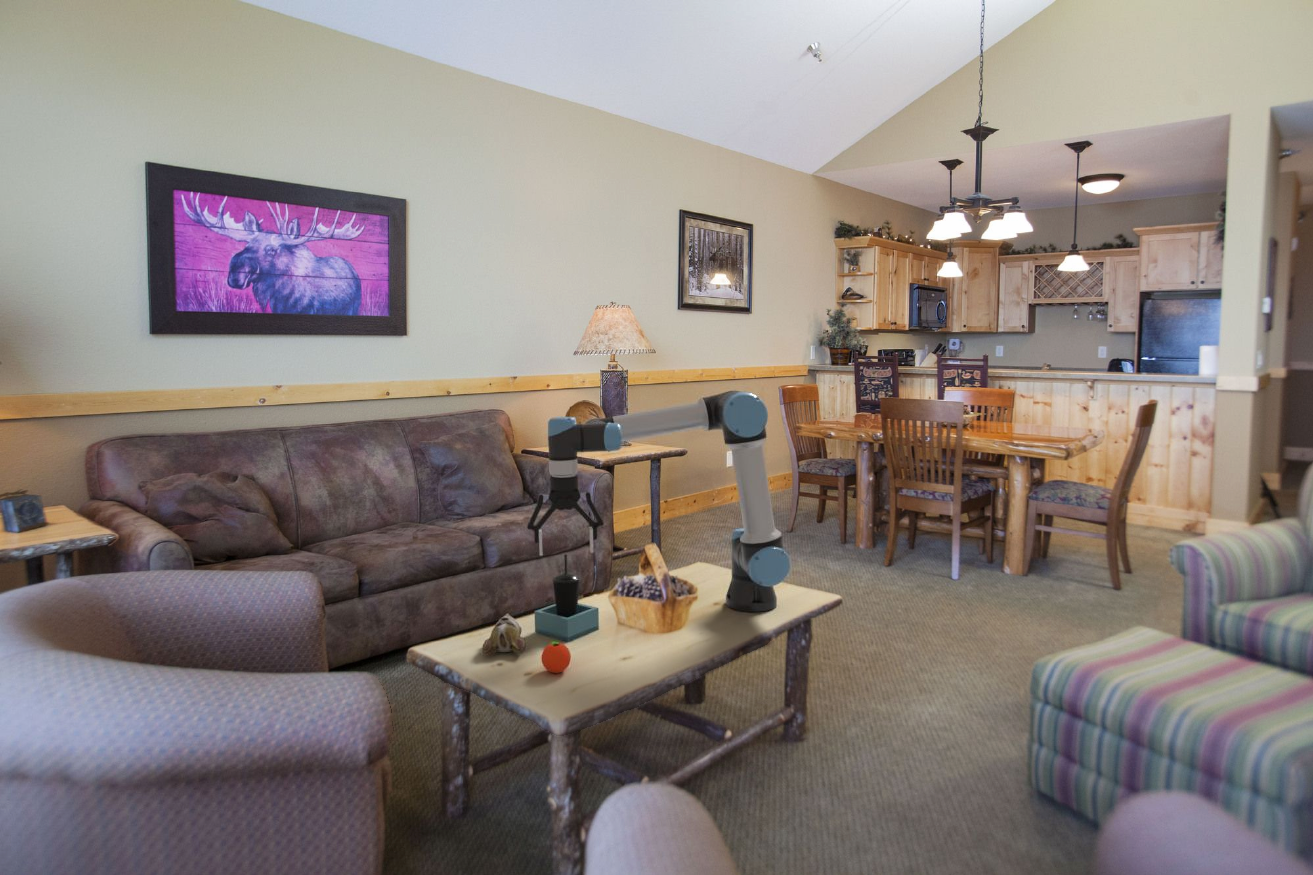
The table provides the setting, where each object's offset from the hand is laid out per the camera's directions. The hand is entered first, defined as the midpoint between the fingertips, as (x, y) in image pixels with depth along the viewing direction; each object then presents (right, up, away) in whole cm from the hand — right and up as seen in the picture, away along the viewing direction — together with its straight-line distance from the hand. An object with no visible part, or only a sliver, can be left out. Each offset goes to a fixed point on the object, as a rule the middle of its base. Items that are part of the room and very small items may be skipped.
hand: (566, 553), depth 217 cm
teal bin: (0, -22, +2) cm, 22 cm away
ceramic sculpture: (-14, -23, -11) cm, 30 cm away
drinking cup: (0, -21, +2) cm, 21 cm away
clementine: (0, -25, -25) cm, 35 cm away
